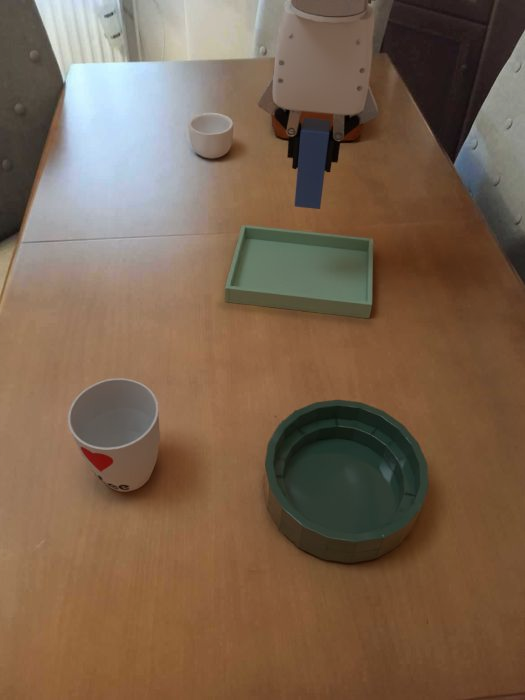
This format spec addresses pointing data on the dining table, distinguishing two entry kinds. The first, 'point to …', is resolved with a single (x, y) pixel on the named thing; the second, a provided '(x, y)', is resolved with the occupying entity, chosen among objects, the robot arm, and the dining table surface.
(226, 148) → the teacup
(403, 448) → the green bowl
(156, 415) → the cup
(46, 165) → the dining table surface
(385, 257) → the dining table surface
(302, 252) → the tray
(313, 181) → the block
